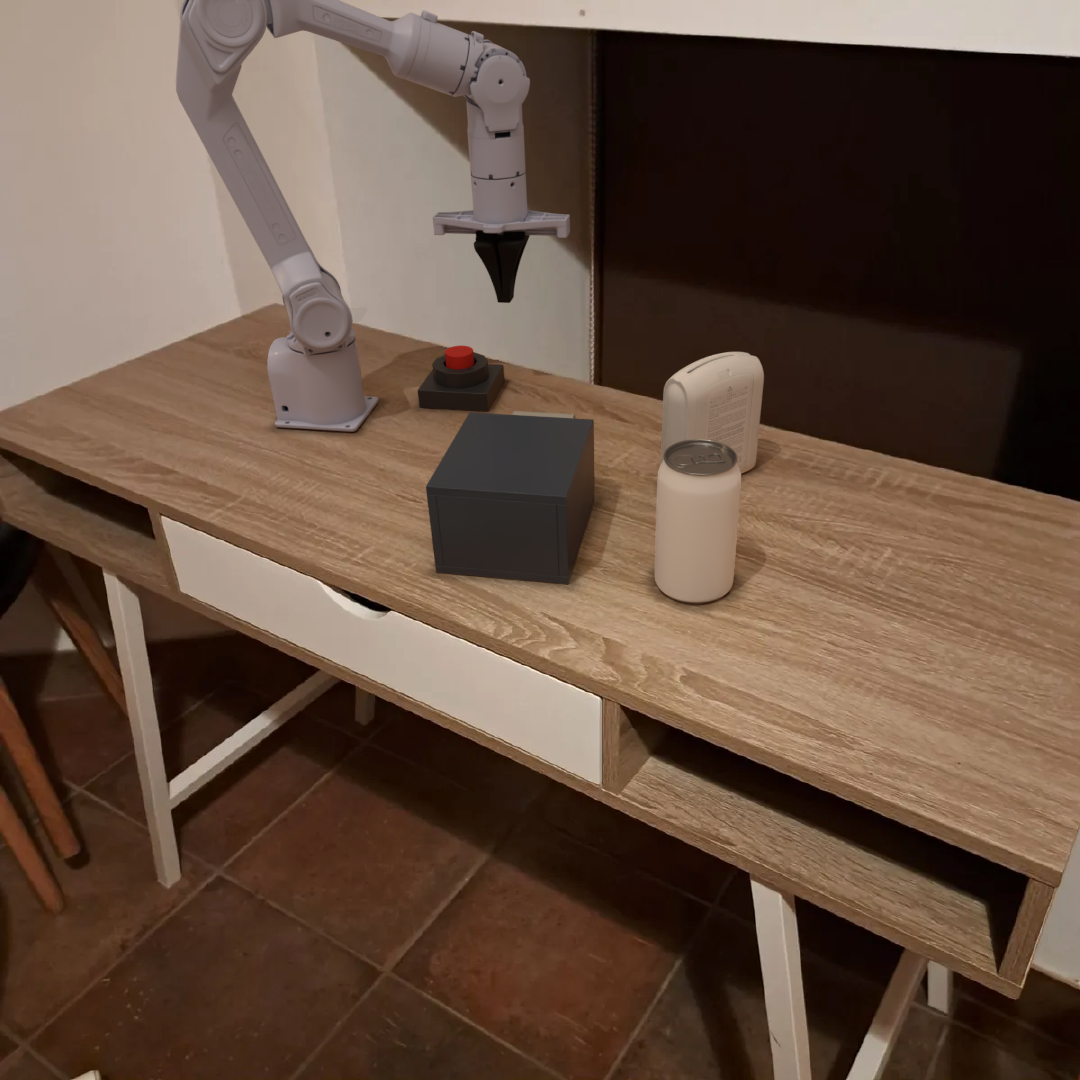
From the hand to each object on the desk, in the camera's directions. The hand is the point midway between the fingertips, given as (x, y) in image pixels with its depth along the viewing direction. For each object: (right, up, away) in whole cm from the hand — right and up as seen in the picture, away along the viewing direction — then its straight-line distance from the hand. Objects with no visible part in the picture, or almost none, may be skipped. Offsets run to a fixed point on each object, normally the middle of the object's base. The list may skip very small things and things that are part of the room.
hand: (505, 299), depth 112 cm
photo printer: (+20, -21, -13) cm, 32 cm away
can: (+17, -30, -28) cm, 45 cm away
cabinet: (+2, -26, -21) cm, 34 cm away
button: (-5, -7, +2) cm, 9 cm away
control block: (-5, -10, +4) cm, 12 cm away
